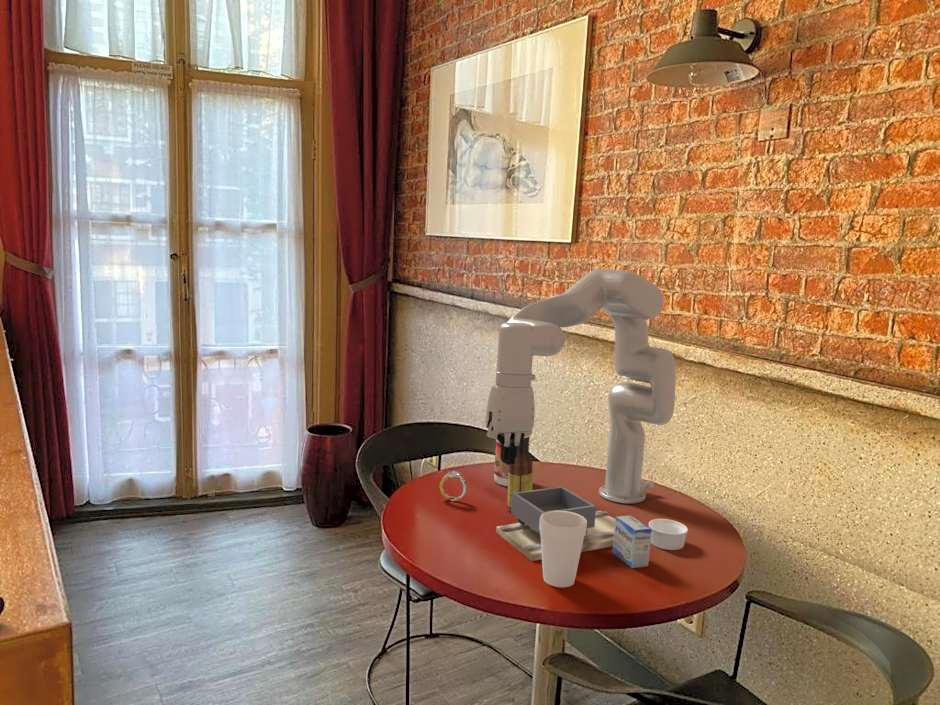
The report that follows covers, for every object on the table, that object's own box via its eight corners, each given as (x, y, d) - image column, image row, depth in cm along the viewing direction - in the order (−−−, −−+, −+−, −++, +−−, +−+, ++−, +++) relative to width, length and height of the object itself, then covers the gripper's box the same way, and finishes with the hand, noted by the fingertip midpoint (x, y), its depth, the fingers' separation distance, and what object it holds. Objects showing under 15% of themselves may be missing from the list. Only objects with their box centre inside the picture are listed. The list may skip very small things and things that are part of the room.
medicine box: (611, 553, 159) (614, 516, 157) (628, 551, 160) (631, 514, 159) (631, 569, 151) (634, 530, 150) (649, 566, 153) (652, 528, 152)
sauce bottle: (531, 507, 184) (536, 433, 180) (531, 516, 177) (536, 439, 174) (506, 505, 184) (510, 431, 181) (505, 514, 178) (509, 437, 175)
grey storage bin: (560, 515, 173) (562, 486, 172) (593, 537, 161) (596, 506, 160) (510, 523, 167) (512, 492, 165) (541, 546, 155) (543, 513, 153)
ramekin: (690, 542, 167) (692, 524, 167) (680, 555, 160) (682, 537, 159) (653, 532, 172) (654, 515, 171) (642, 545, 164) (643, 527, 163)
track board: (599, 516, 180) (600, 508, 180) (641, 541, 166) (642, 532, 166) (496, 532, 167) (496, 523, 166) (531, 561, 153) (532, 551, 152)
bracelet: (466, 500, 186) (468, 471, 185) (463, 504, 183) (465, 475, 182) (441, 496, 188) (443, 467, 187) (437, 500, 185) (439, 471, 184)
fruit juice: (513, 490, 196) (519, 390, 192) (487, 481, 202) (492, 384, 198) (533, 482, 203) (539, 386, 199) (507, 474, 209) (513, 381, 205)
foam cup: (579, 570, 149) (584, 512, 147) (585, 592, 140) (590, 530, 138) (534, 568, 149) (538, 509, 147) (536, 589, 140) (541, 527, 138)
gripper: (533, 376, 159) (528, 455, 162) (474, 378, 152) (469, 460, 155) (552, 382, 153) (545, 464, 155) (491, 385, 146) (485, 471, 149)
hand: (507, 462), depth 155 cm, fingers closed
